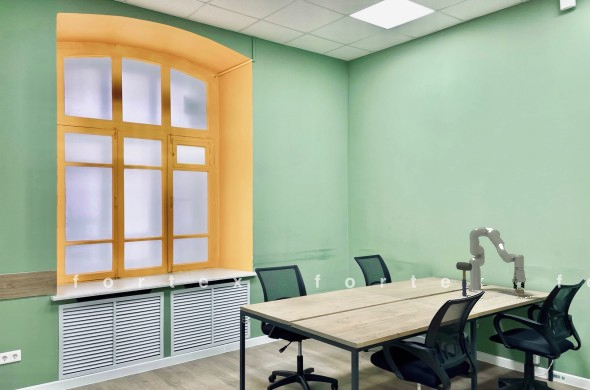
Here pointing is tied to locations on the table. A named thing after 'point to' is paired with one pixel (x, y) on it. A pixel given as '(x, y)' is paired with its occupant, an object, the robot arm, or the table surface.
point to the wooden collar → (519, 292)
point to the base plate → (510, 293)
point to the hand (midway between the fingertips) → (519, 288)
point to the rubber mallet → (464, 274)
